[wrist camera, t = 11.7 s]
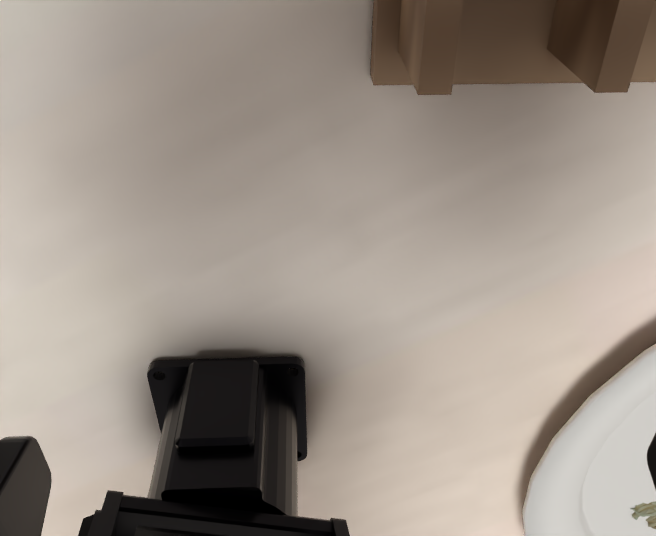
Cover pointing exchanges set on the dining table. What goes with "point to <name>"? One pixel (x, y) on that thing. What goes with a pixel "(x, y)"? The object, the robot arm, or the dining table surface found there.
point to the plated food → (600, 463)
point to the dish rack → (513, 43)
